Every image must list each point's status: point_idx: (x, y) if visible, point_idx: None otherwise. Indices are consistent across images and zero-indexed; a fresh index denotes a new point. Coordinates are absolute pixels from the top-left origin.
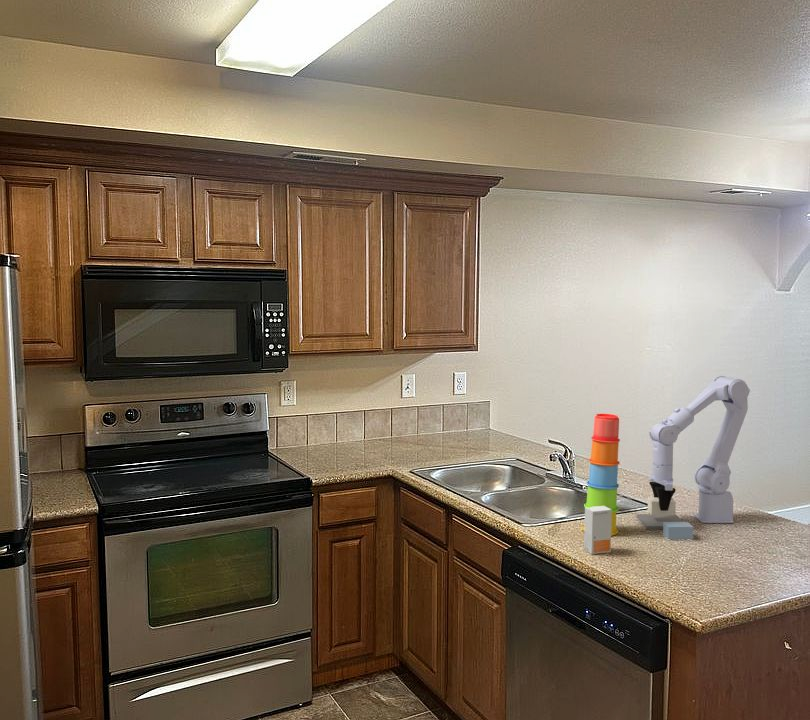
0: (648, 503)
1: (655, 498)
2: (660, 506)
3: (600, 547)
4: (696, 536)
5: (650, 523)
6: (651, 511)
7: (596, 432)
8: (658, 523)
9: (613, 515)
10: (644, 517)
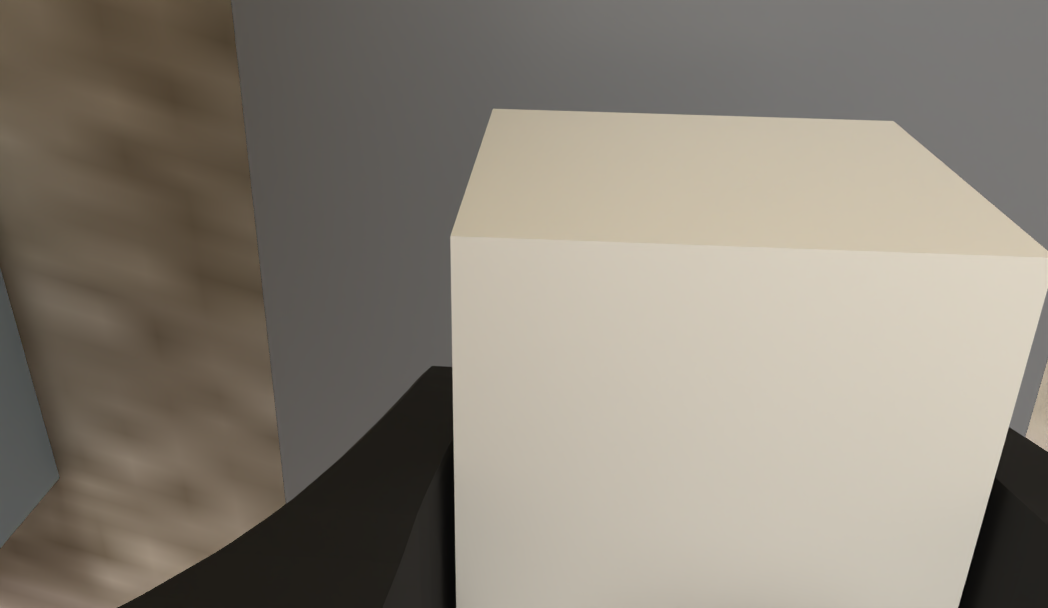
0: (882, 183)
1: (855, 471)
2: (392, 408)
3: None
4: (9, 564)
5: (425, 20)
6: (509, 130)
7: None
8: (431, 188)
9: None
10: (876, 13)
